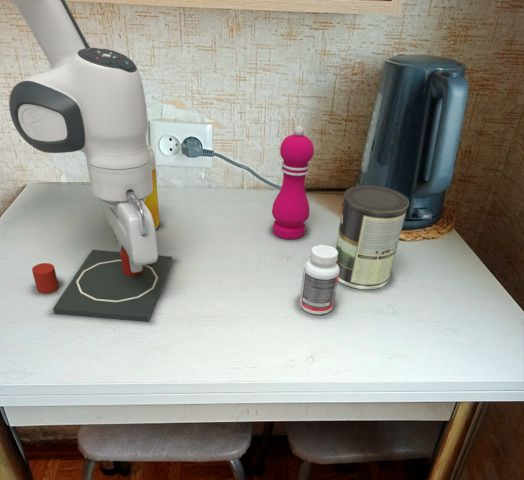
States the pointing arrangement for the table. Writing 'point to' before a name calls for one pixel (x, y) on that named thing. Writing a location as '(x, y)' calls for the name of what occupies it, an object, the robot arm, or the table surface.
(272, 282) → the table surface
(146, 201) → the beer can
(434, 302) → the table surface
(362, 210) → the coffee can
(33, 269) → the dot
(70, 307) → the slate board
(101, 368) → the table surface
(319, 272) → the pill bottle
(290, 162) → the pepper mill
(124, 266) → the red cylinder
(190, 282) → the table surface
